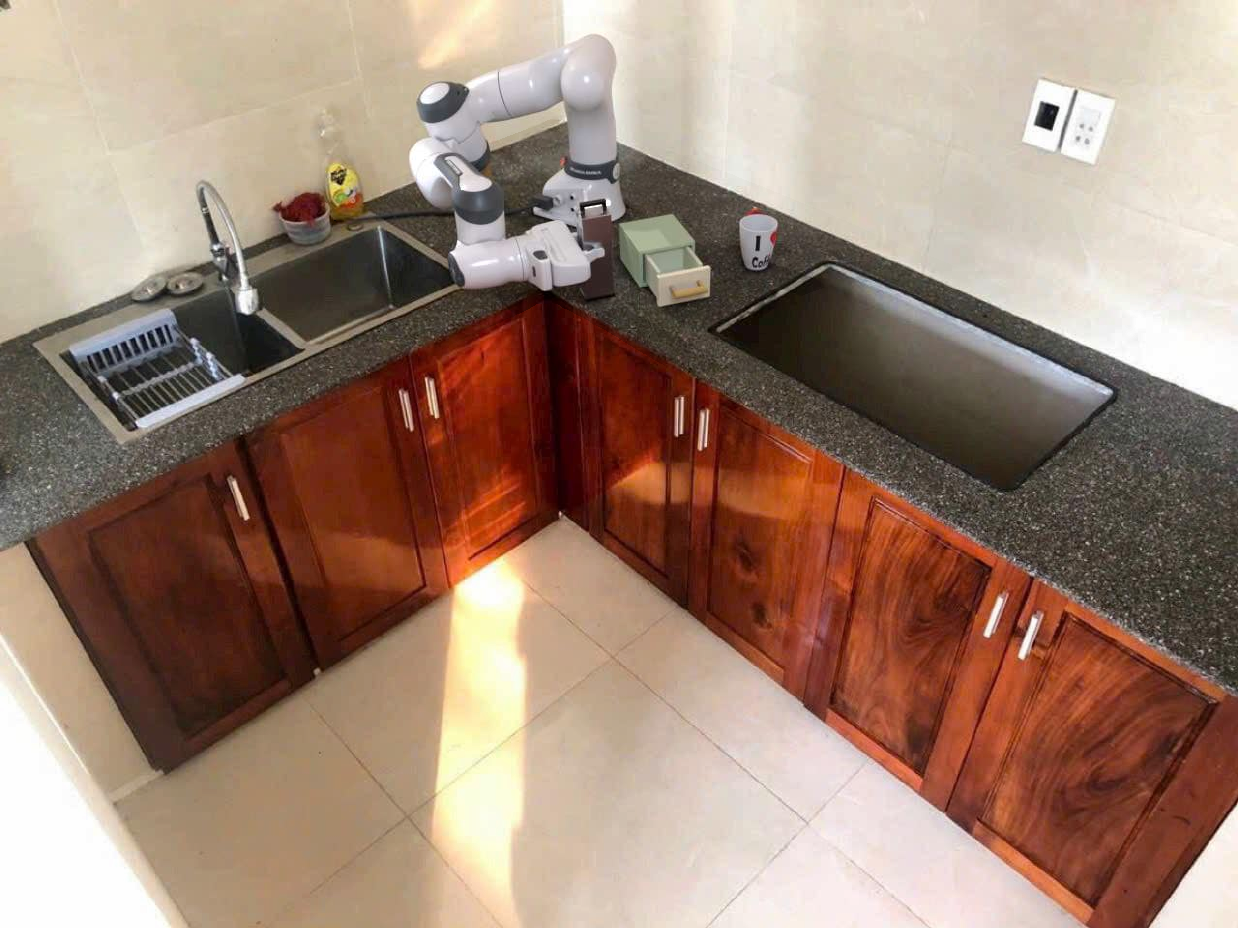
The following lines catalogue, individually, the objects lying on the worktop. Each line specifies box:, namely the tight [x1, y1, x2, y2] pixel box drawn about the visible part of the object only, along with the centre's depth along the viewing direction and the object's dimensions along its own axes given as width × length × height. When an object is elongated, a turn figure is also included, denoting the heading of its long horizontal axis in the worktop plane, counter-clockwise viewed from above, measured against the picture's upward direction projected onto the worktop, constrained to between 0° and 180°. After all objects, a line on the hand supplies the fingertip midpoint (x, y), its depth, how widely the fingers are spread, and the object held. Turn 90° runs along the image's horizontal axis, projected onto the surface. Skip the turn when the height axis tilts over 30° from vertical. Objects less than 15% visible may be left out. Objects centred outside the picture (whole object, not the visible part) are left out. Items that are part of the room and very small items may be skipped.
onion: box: [744, 205, 766, 217], centre depth 227 cm, size 6×6×8 cm
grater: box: [576, 198, 616, 303], centre depth 200 cm, size 5×6×21 cm
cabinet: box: [618, 213, 696, 288], centre depth 218 cm, size 14×13×9 cm
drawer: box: [643, 246, 711, 308], centre depth 208 cm, size 17×11×7 cm
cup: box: [739, 214, 778, 271], centre depth 217 cm, size 8×8×10 cm
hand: (599, 244), depth 199 cm, fingers closed on grater, 4 cm apart
